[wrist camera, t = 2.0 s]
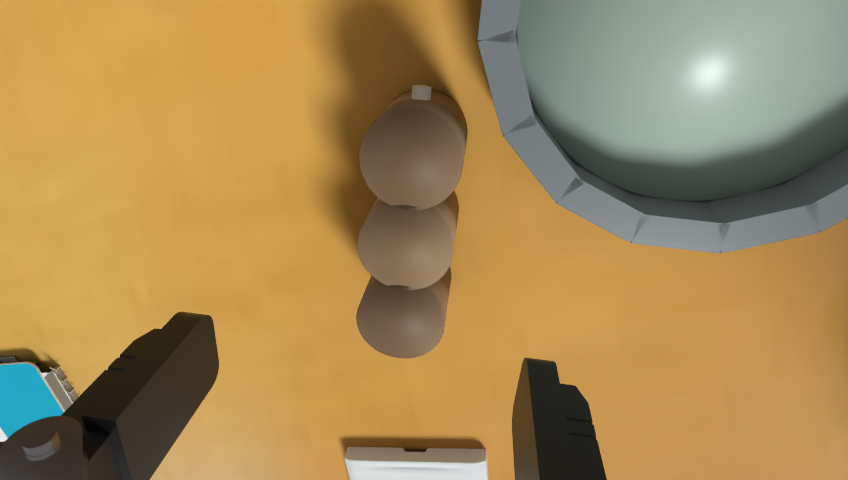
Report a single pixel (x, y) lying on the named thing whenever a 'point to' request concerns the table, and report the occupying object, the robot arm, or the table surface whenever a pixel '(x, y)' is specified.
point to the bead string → (410, 220)
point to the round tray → (678, 113)
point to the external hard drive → (416, 464)
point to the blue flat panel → (30, 394)
